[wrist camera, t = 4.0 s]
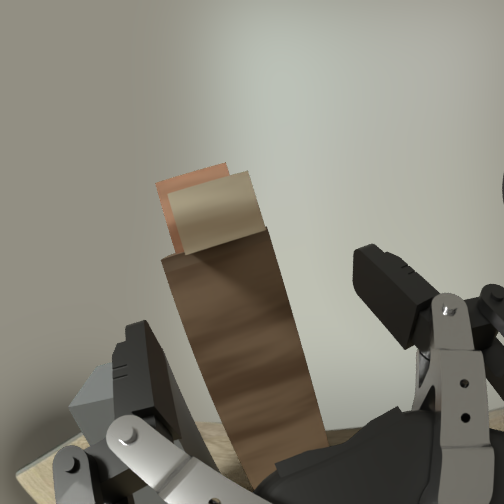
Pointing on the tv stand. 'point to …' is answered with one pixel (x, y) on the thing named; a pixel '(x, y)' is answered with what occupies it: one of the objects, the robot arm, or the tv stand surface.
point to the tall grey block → (102, 415)
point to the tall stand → (248, 350)
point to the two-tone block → (209, 208)
